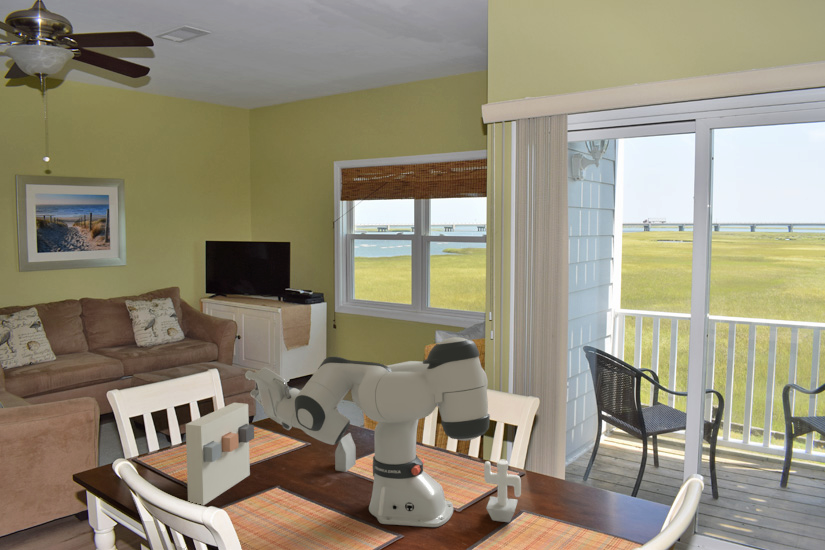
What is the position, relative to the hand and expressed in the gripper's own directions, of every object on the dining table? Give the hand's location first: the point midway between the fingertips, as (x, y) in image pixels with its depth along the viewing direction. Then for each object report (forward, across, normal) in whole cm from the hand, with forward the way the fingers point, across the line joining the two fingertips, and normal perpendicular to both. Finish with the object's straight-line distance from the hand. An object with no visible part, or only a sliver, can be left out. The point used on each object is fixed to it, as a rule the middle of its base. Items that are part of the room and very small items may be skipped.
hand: (249, 383), depth 166 cm
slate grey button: (+3, +18, -17) cm, 25 cm away
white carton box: (-24, +42, +8) cm, 49 cm away
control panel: (+2, +32, -19) cm, 37 cm away
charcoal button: (+3, +28, -5) cm, 29 cm away
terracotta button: (+3, +23, -11) cm, 25 cm away
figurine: (-74, +15, +6) cm, 75 cm away
